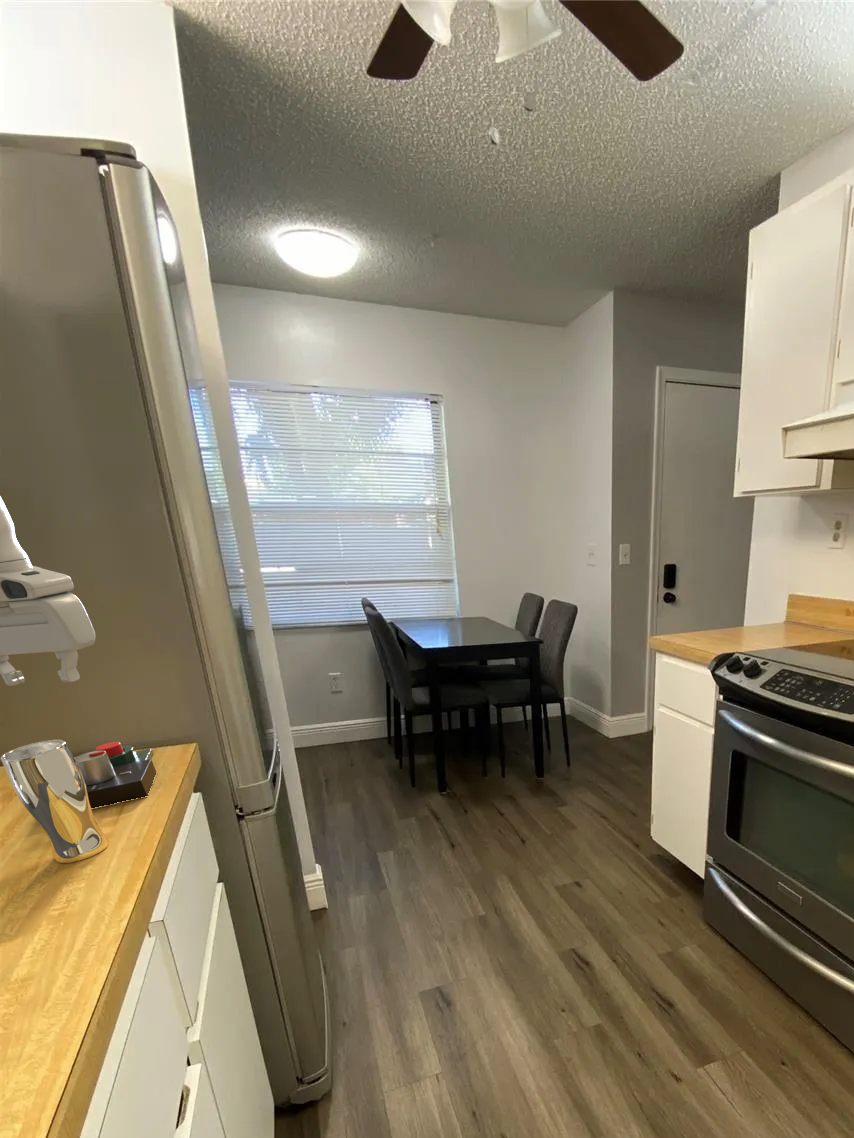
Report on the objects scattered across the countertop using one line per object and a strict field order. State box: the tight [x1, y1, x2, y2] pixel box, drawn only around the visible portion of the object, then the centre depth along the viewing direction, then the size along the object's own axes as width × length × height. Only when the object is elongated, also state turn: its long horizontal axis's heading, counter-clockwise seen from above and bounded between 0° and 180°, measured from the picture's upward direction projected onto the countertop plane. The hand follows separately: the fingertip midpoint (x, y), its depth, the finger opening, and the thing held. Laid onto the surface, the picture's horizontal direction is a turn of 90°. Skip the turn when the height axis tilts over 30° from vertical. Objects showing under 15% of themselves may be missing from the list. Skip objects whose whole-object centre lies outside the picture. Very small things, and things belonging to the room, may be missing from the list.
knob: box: [74, 750, 116, 785], centre depth 100 cm, size 4×4×4 cm
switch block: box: [108, 744, 155, 767], centre depth 110 cm, size 10×8×4 cm
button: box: [95, 741, 123, 757], centre depth 109 cm, size 4×4×2 cm
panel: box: [86, 759, 157, 808], centre depth 102 cm, size 13×10×3 cm
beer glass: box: [0, 739, 110, 864], centre depth 83 cm, size 7×7×15 cm
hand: (44, 682), depth 92 cm, fingers open, 8 cm apart
